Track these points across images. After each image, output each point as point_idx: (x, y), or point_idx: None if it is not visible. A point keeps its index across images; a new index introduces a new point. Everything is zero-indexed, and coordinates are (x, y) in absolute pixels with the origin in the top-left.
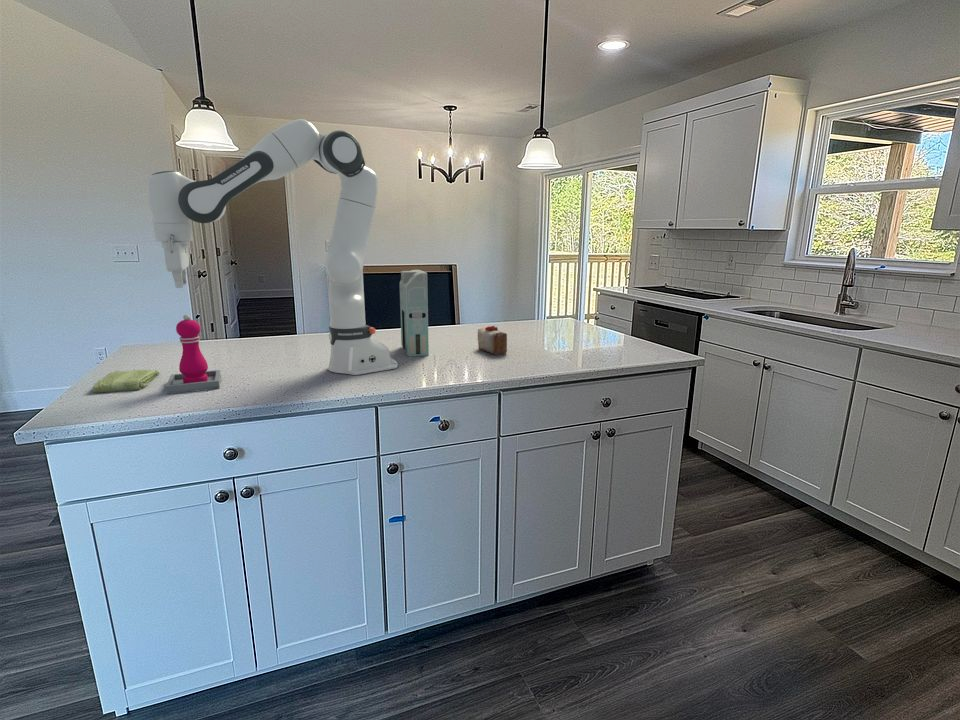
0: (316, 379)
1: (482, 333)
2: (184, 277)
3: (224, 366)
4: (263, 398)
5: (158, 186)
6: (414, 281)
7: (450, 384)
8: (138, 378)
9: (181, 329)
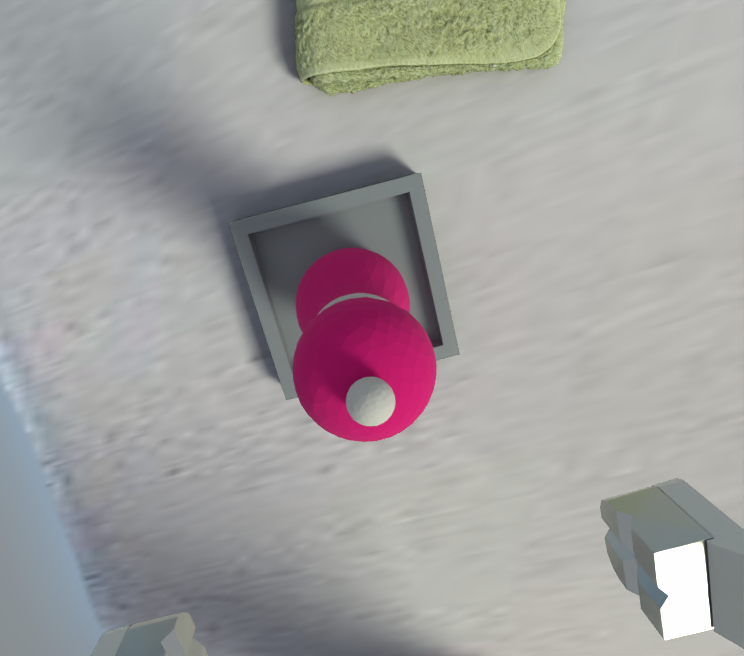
0: (353, 652)
1: None
2: (721, 620)
3: (616, 310)
4: (156, 552)
5: None
6: None
7: None
8: (370, 46)
9: (295, 356)
